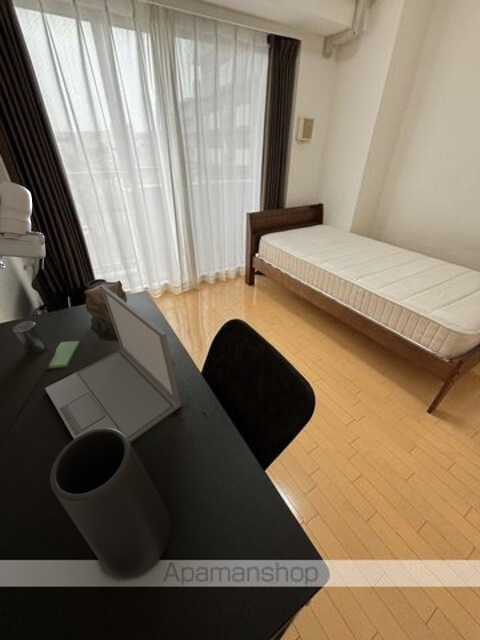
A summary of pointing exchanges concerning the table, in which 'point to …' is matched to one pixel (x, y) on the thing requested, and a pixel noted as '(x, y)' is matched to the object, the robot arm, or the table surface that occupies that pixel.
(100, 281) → the coffee cup
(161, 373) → the laptop
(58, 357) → the rag
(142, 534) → the vase
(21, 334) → the can
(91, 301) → the owl
